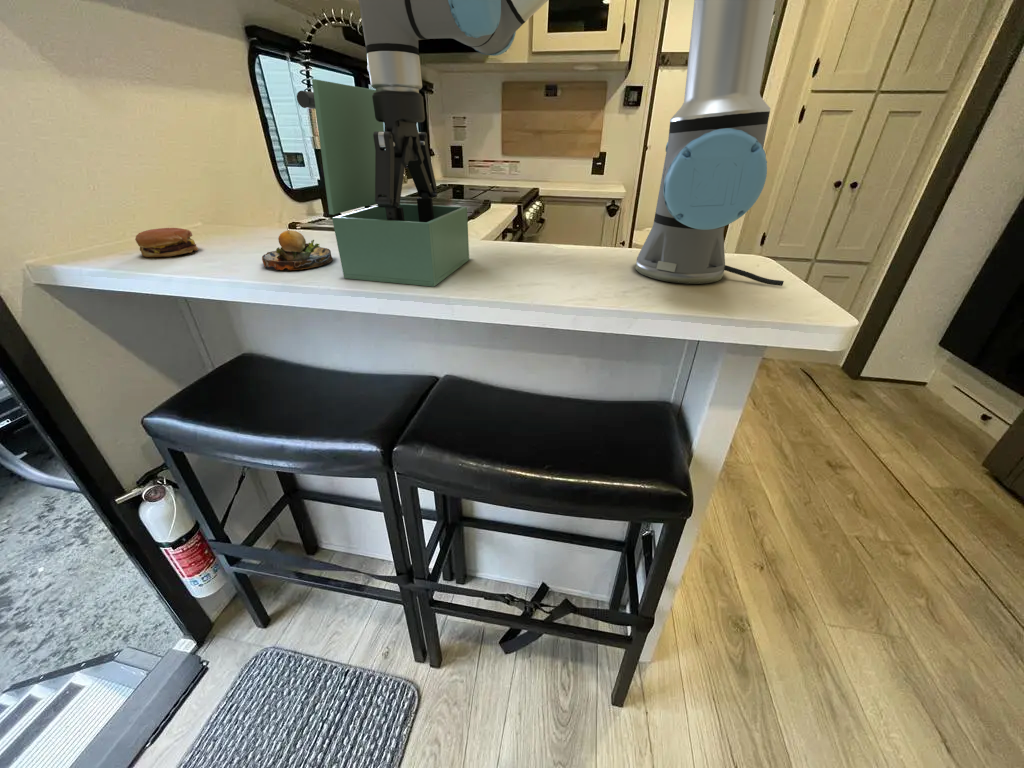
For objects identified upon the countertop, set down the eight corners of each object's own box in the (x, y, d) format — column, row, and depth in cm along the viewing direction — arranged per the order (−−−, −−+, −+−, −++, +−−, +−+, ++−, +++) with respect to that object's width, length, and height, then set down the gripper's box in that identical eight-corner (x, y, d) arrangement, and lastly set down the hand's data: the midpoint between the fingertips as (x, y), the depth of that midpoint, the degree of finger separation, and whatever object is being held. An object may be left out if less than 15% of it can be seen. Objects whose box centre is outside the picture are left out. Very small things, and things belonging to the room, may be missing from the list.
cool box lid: (381, 91, 71) (339, 86, 72) (316, 79, 56) (265, 73, 57) (387, 200, 80) (350, 194, 81) (333, 214, 65) (288, 207, 67)
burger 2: (343, 256, 83) (335, 216, 79) (313, 272, 73) (303, 228, 69) (286, 254, 84) (276, 214, 80) (249, 270, 74) (235, 226, 70)
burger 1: (136, 252, 83) (126, 228, 81) (190, 245, 89) (182, 222, 87) (148, 262, 78) (137, 236, 75) (205, 254, 84) (196, 229, 81)
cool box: (469, 259, 82) (467, 206, 77) (434, 286, 67) (428, 223, 62) (393, 253, 85) (386, 202, 80) (344, 278, 71) (331, 217, 66)
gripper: (408, 98, 73) (422, 228, 84) (328, 84, 53) (360, 256, 65) (448, 97, 71) (457, 230, 83) (380, 82, 52) (404, 259, 63)
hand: (414, 242), depth 74 cm, fingers open, 11 cm apart
